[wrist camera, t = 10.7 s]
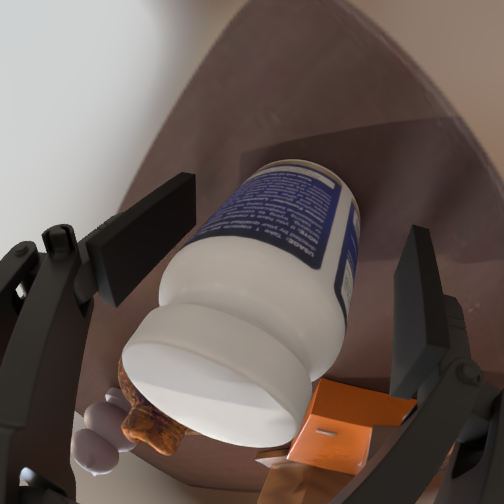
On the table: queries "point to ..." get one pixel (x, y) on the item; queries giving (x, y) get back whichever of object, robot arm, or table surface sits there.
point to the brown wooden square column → (298, 481)
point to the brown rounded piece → (149, 420)
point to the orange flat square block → (343, 425)
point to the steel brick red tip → (376, 441)
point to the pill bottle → (253, 308)
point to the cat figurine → (102, 434)
